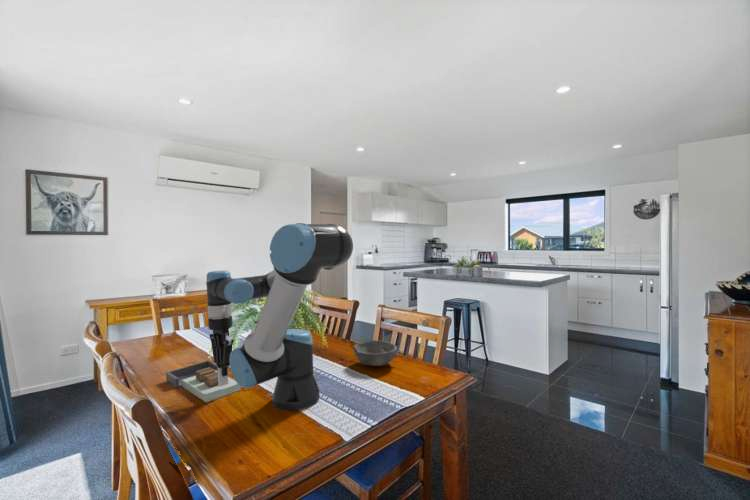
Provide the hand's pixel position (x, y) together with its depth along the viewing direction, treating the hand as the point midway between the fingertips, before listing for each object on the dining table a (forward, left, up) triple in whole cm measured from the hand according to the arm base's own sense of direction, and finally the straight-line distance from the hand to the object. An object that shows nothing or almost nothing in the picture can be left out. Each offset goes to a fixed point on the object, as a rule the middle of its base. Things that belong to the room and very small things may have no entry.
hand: (223, 384), depth 121 cm
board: (+10, 0, -4) cm, 11 cm away
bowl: (-22, -54, -4) cm, 58 cm away
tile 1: (+14, 0, -2) cm, 14 cm away
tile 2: (+7, 0, -2) cm, 7 cm away
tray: (+25, 0, -4) cm, 25 cm away
